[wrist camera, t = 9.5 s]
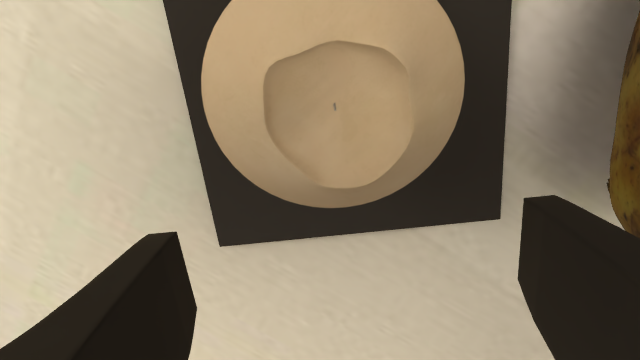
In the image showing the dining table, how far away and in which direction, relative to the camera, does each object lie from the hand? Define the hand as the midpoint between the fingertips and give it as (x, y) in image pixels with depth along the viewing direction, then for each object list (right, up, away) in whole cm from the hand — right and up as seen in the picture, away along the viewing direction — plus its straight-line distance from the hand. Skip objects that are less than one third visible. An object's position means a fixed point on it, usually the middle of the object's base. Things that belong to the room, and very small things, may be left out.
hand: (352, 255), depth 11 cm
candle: (0, +7, +8) cm, 11 cm away
